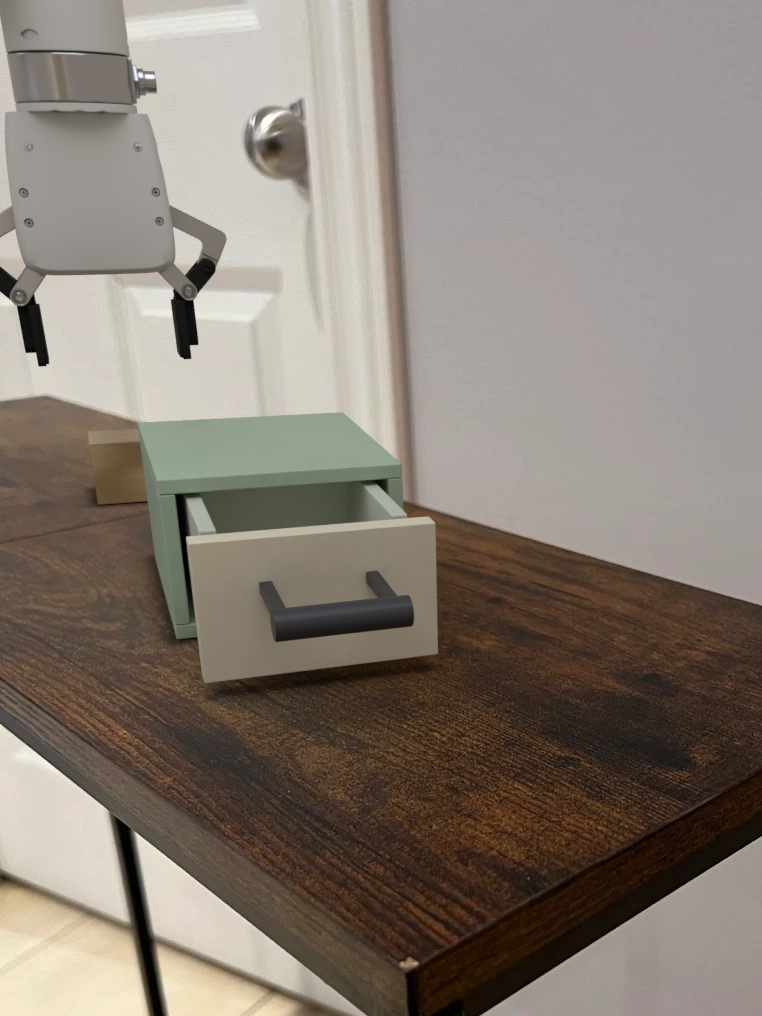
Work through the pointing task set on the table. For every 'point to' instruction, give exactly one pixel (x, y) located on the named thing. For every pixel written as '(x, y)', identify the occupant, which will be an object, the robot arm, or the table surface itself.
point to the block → (117, 466)
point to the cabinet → (246, 475)
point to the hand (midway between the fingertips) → (115, 359)
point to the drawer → (307, 578)
